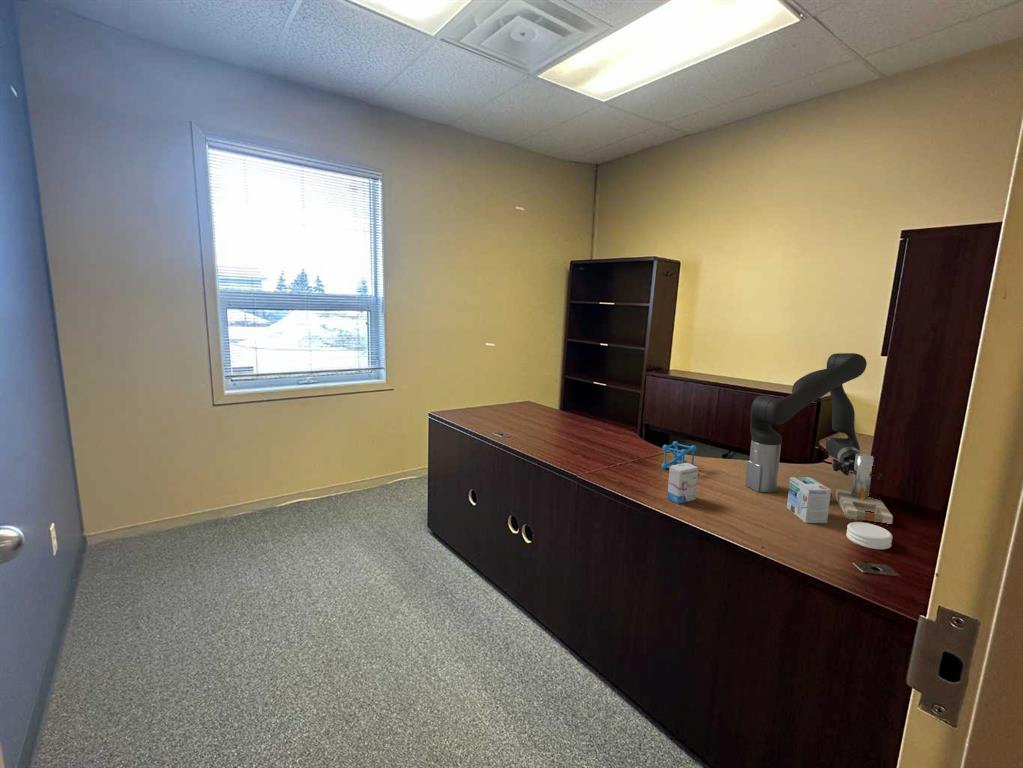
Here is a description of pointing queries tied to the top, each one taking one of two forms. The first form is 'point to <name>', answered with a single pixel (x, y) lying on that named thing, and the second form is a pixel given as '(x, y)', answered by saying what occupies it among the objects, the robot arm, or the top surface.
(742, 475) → the top surface
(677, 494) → the ink box
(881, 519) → the hub plate
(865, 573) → the top surface
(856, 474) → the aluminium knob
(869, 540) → the coaster
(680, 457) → the molecular structure
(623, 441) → the top surface
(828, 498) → the light bulb box
